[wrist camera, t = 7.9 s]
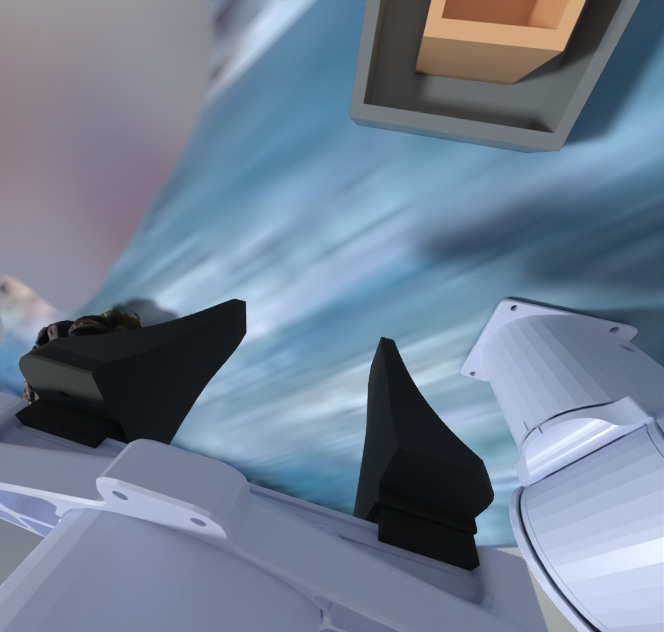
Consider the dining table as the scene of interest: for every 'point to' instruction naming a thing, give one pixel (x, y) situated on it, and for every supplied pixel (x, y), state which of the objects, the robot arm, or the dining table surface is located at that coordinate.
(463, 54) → the small crate
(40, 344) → the pine cone
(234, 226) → the dining table surface
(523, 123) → the big crate
